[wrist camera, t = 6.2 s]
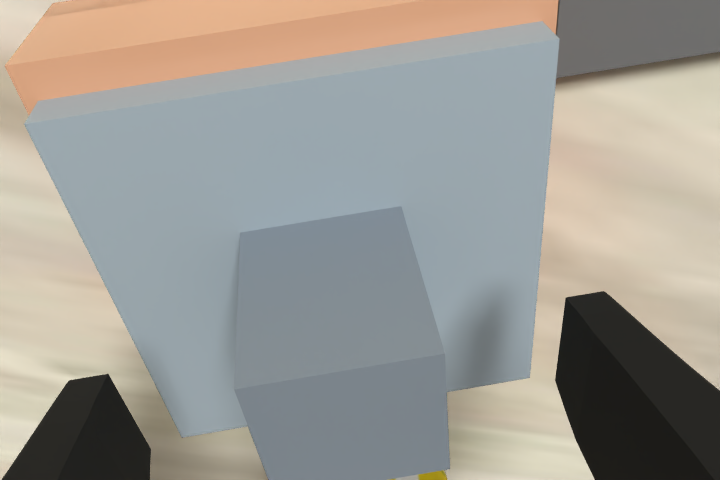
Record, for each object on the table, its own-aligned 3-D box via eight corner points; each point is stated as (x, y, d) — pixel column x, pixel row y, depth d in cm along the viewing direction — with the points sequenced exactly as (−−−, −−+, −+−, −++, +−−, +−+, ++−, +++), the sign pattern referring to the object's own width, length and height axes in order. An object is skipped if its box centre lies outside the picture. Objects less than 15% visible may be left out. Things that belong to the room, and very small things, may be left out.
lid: (519, 352, 16) (588, 520, 13) (184, 409, 16) (164, 596, 12) (542, 20, 11) (673, 155, 7) (38, 100, 11) (-69, 277, 7)
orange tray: (505, -67, 13) (560, -22, 10) (495, 268, 18) (529, 346, 16) (52, 3, 12) (4, 65, 10) (184, 320, 18) (172, 408, 16)
